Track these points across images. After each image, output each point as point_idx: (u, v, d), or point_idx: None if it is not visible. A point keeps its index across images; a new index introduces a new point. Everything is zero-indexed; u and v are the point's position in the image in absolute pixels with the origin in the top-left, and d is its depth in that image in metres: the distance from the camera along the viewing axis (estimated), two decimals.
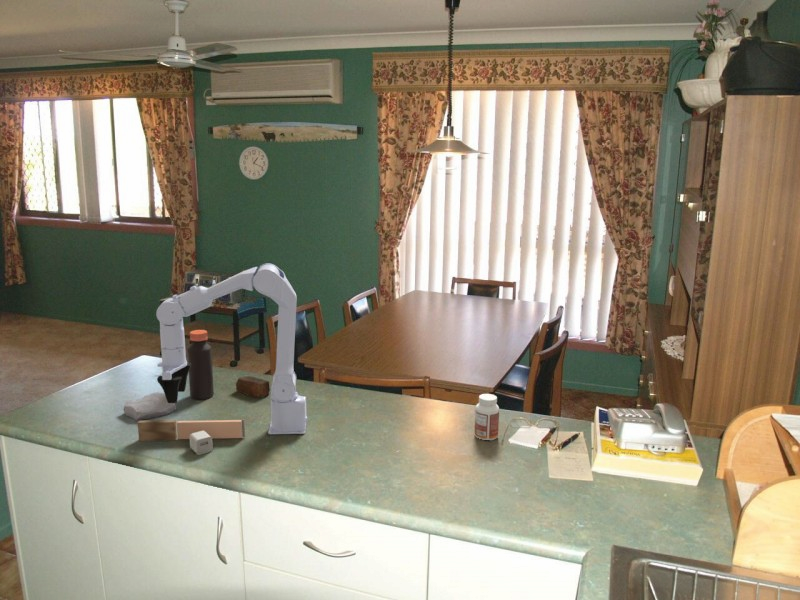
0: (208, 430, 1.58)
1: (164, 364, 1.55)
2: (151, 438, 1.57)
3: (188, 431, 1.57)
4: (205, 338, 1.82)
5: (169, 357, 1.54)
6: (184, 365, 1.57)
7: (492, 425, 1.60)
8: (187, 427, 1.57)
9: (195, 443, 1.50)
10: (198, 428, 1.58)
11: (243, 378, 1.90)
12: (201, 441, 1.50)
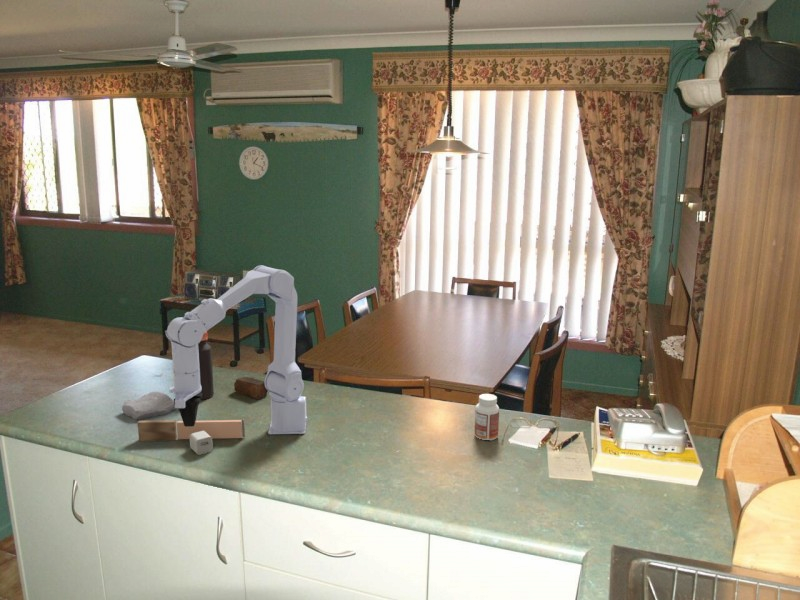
0: (208, 430, 1.58)
1: (177, 390, 1.40)
2: (151, 438, 1.57)
3: (188, 431, 1.57)
4: (205, 338, 1.82)
5: (182, 382, 1.39)
6: (199, 391, 1.42)
7: (492, 425, 1.60)
8: (187, 427, 1.57)
9: (195, 443, 1.50)
10: (198, 428, 1.58)
11: (241, 379, 1.89)
12: (201, 441, 1.50)
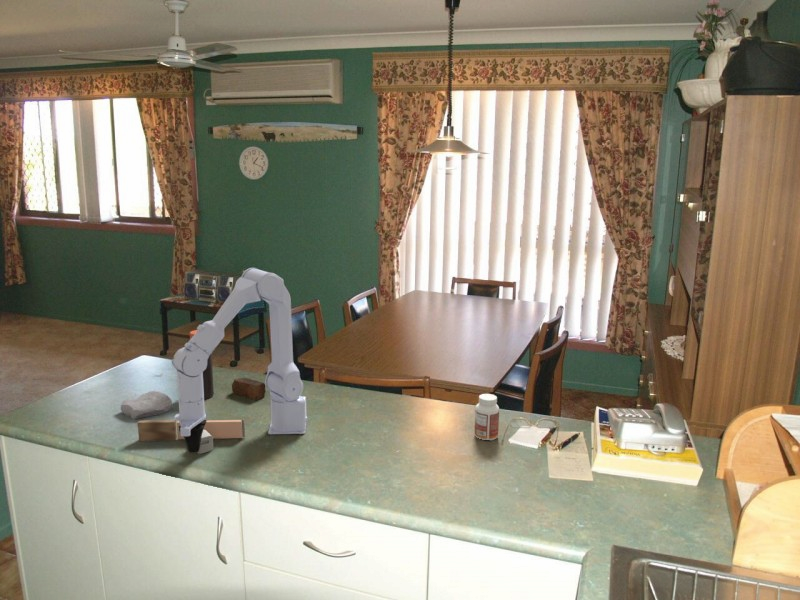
0: (208, 430, 1.58)
1: (182, 418, 1.45)
2: (151, 438, 1.57)
3: None
4: None
5: (187, 410, 1.44)
6: (203, 418, 1.46)
7: (492, 425, 1.60)
8: None
9: None
10: None
11: (239, 380, 1.88)
12: (202, 440, 1.51)
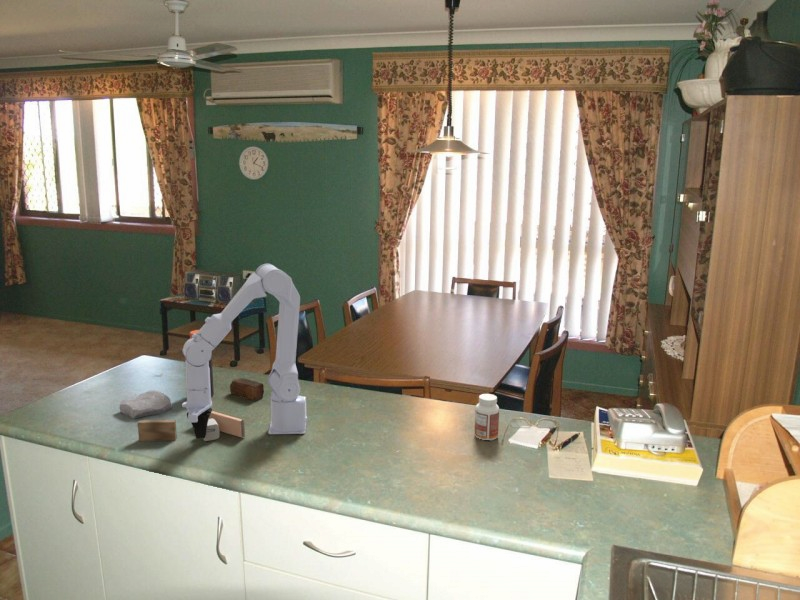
0: (217, 422, 1.63)
1: (189, 405, 1.52)
2: (151, 438, 1.57)
3: None
4: None
5: (195, 398, 1.51)
6: (209, 406, 1.53)
7: (492, 425, 1.60)
8: None
9: None
10: (209, 418, 1.64)
11: (237, 380, 1.88)
12: (208, 428, 1.57)
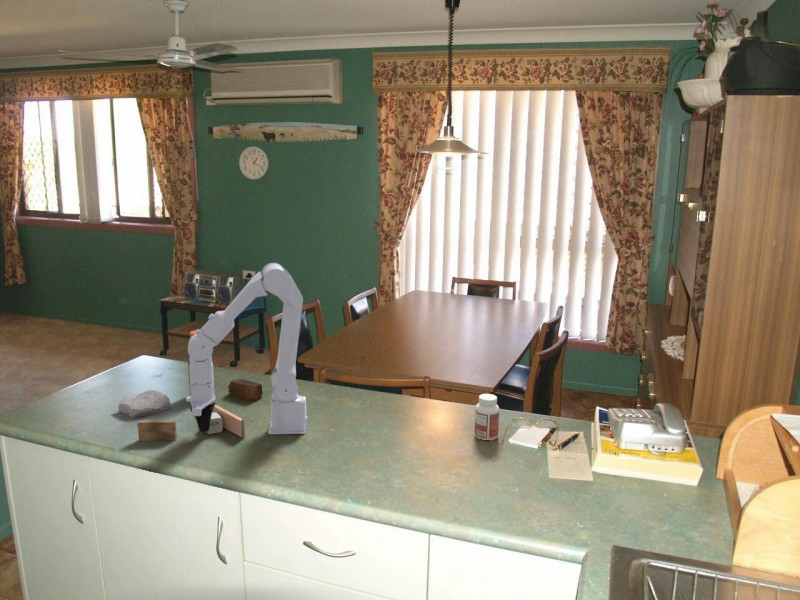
0: (223, 419, 1.64)
1: (193, 399, 1.55)
2: (151, 438, 1.57)
3: None
4: None
5: (198, 392, 1.54)
6: (213, 400, 1.57)
7: (492, 425, 1.60)
8: (213, 410, 1.68)
9: None
10: None
11: (235, 381, 1.87)
12: (211, 421, 1.61)
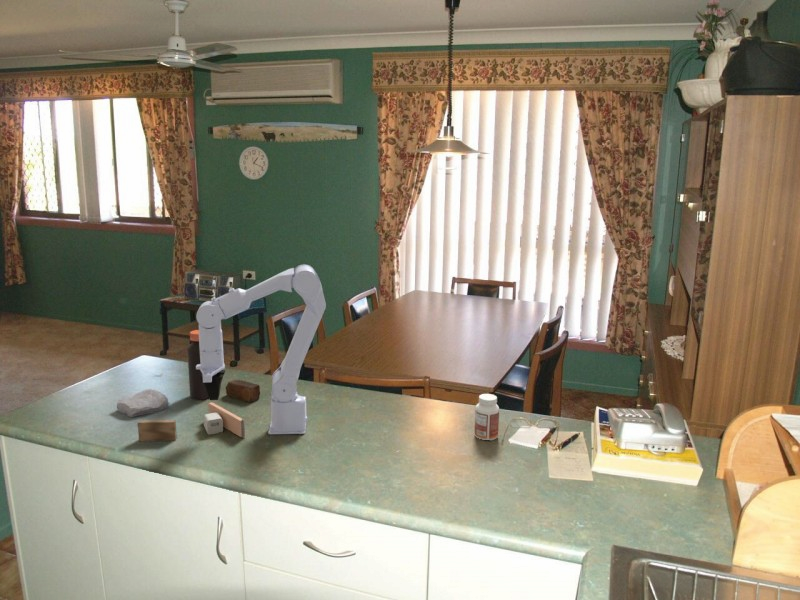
0: (224, 419, 1.65)
1: (203, 367, 1.56)
2: (151, 438, 1.57)
3: None
4: None
5: (208, 360, 1.55)
6: (222, 367, 1.58)
7: (492, 425, 1.60)
8: (213, 410, 1.68)
9: (206, 423, 1.61)
10: None
11: (233, 382, 1.86)
12: (212, 422, 1.61)
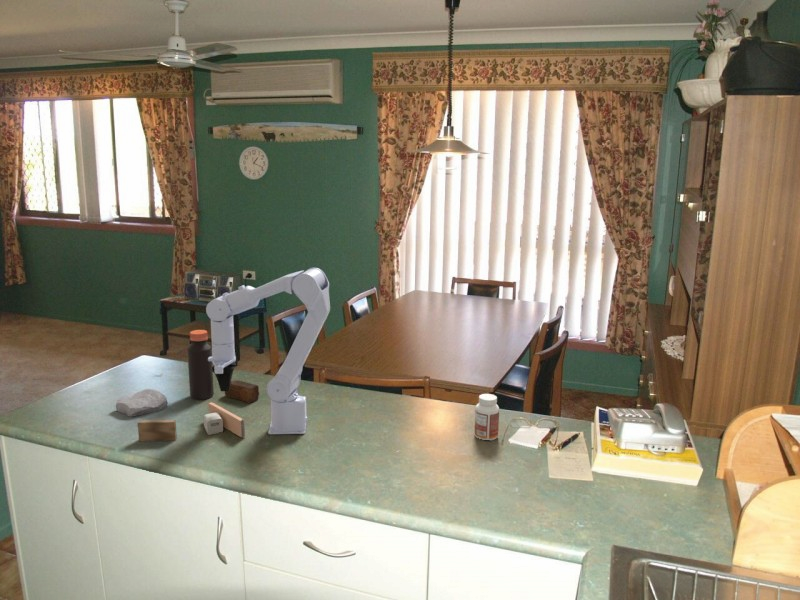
0: (224, 419, 1.65)
1: (215, 359, 1.62)
2: (151, 438, 1.57)
3: None
4: (205, 338, 1.82)
5: (220, 352, 1.61)
6: (233, 360, 1.63)
7: (492, 425, 1.60)
8: (213, 410, 1.68)
9: (206, 423, 1.61)
10: None
11: (232, 382, 1.86)
12: (212, 422, 1.61)
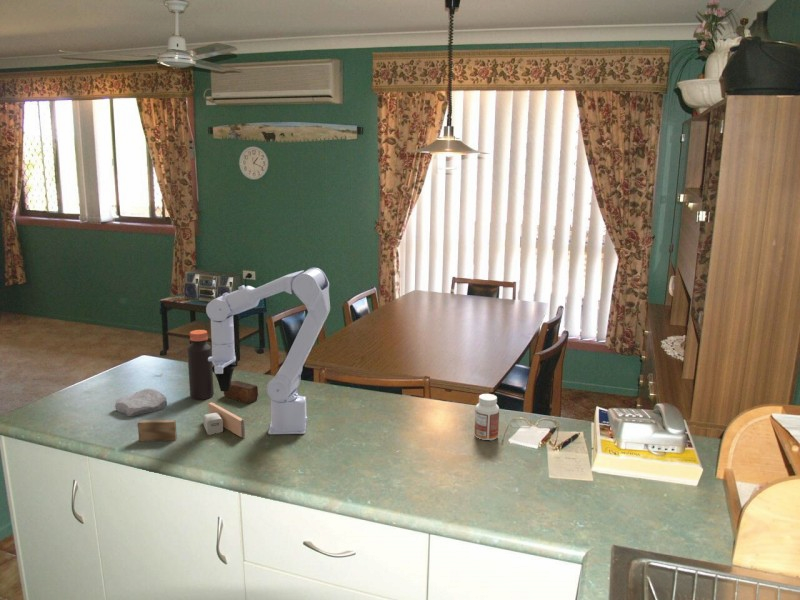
0: (224, 419, 1.65)
1: (215, 359, 1.62)
2: (151, 438, 1.57)
3: None
4: (205, 338, 1.82)
5: (220, 352, 1.61)
6: (233, 360, 1.63)
7: (492, 425, 1.60)
8: (213, 410, 1.68)
9: (206, 423, 1.61)
10: None
11: (231, 383, 1.86)
12: (212, 422, 1.61)
